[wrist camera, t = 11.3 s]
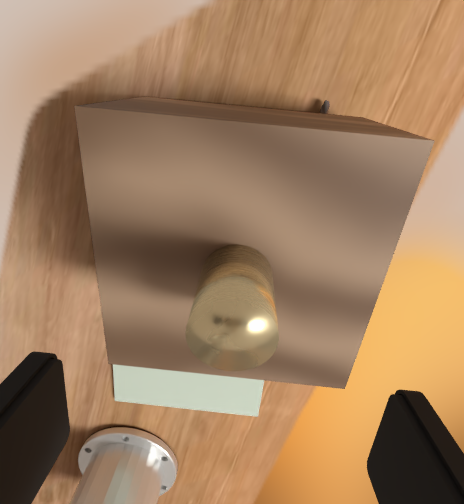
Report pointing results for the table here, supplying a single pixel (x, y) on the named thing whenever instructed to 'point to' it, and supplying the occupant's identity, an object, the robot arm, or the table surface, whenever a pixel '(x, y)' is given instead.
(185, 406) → the sage mat
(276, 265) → the walnut cover
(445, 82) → the table surface
